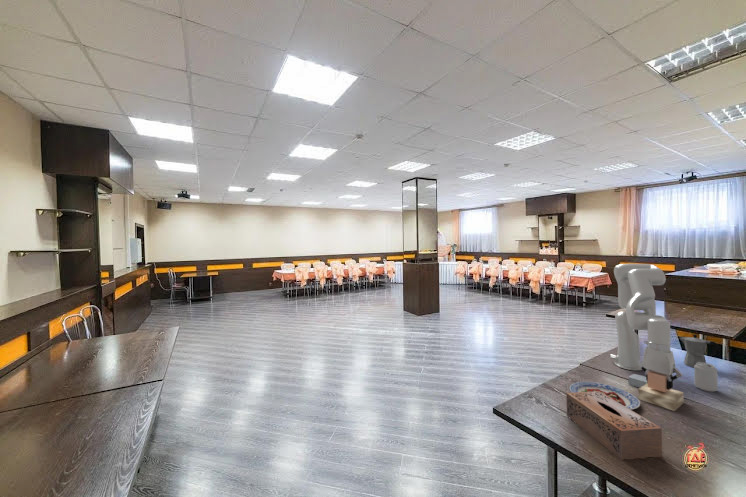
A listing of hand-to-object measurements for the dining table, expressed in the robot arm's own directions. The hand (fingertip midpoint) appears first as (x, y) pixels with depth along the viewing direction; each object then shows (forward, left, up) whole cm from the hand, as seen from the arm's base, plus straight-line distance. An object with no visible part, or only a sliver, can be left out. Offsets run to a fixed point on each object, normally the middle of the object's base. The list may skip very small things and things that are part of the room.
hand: (659, 385), depth 137 cm
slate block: (-11, +10, -7) cm, 16 cm away
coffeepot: (-6, +65, -7) cm, 66 cm away
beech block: (+1, 0, -7) cm, 7 cm away
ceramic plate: (-13, -20, -7) cm, 25 cm away
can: (+6, +32, -7) cm, 33 cm away
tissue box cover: (+2, -47, -7) cm, 48 cm away
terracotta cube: (0, 0, -1) cm, 1 cm away
